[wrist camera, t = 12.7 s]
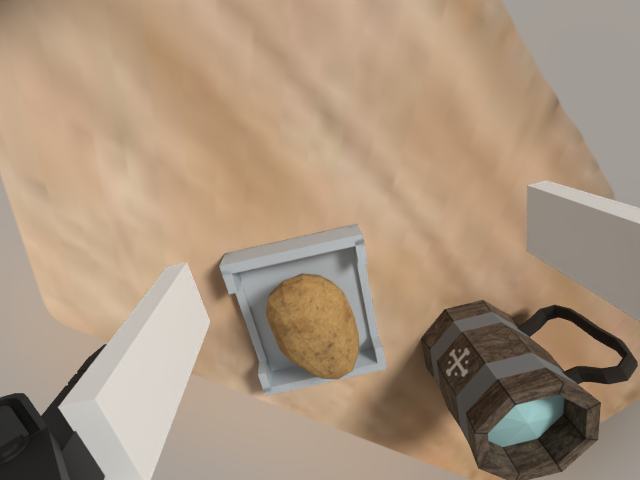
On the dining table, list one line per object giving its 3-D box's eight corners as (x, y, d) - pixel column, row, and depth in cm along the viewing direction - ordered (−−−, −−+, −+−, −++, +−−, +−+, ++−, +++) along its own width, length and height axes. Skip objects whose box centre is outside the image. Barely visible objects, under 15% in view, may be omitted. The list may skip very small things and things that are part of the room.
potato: (307, 361, 47) (310, 409, 40) (249, 282, 42) (240, 320, 35) (372, 329, 46) (387, 372, 39) (320, 243, 41) (326, 274, 34)
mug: (448, 395, 52) (505, 500, 38) (402, 336, 48) (447, 431, 34) (569, 324, 49) (679, 411, 35) (531, 254, 45) (640, 322, 31)
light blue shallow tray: (224, 253, 42) (219, 266, 38) (356, 223, 41) (362, 234, 38) (267, 376, 48) (265, 396, 45) (380, 351, 48) (386, 369, 45)
